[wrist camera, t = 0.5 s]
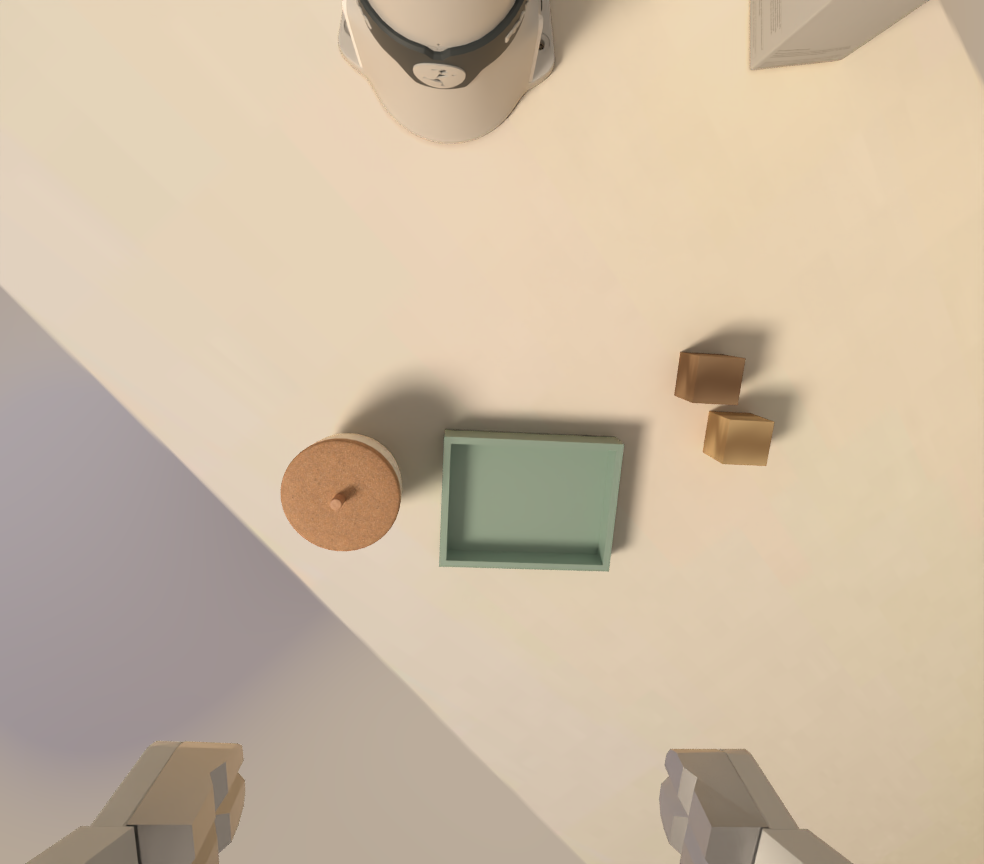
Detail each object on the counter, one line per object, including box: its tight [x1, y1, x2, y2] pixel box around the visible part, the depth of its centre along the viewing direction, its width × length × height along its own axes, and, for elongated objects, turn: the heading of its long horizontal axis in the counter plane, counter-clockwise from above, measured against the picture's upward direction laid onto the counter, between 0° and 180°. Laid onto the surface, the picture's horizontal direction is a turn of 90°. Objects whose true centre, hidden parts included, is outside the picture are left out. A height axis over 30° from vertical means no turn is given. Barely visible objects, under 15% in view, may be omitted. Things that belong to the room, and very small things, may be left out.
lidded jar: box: [281, 433, 402, 551], centre depth 50 cm, size 11×11×9 cm
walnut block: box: [674, 352, 746, 405], centre depth 51 cm, size 4×4×4 cm
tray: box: [439, 429, 624, 571], centre depth 54 cm, size 14×18×3 cm
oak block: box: [703, 411, 774, 466], centre depth 53 cm, size 4×4×4 cm
